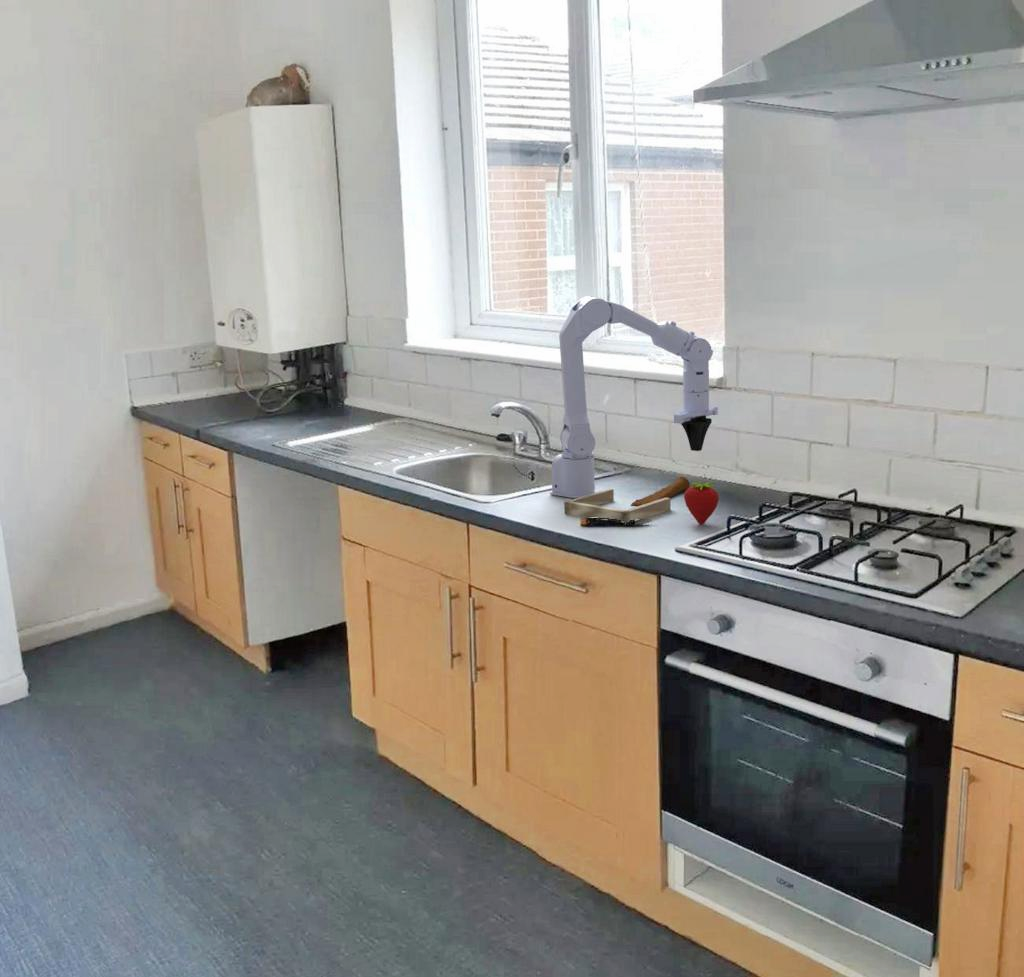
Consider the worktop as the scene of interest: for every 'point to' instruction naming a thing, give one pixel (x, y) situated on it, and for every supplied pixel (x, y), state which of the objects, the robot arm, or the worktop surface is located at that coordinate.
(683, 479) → the primitive tool
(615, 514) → the box
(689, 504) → the strawberry
